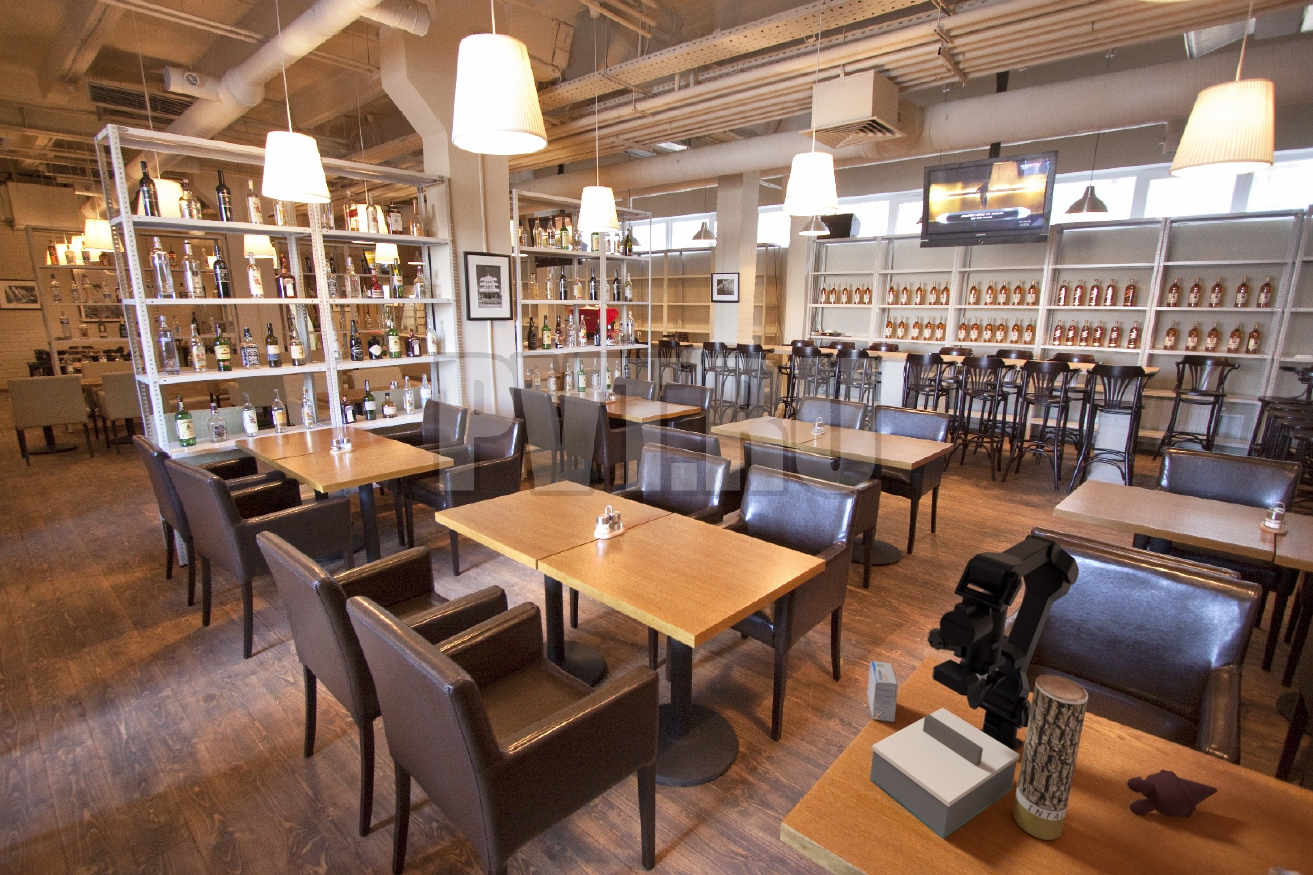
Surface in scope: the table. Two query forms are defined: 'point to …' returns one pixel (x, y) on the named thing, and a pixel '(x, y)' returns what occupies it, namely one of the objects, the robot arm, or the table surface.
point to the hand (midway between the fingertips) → (973, 707)
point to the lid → (945, 755)
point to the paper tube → (1049, 755)
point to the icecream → (1168, 794)
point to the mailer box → (932, 808)
